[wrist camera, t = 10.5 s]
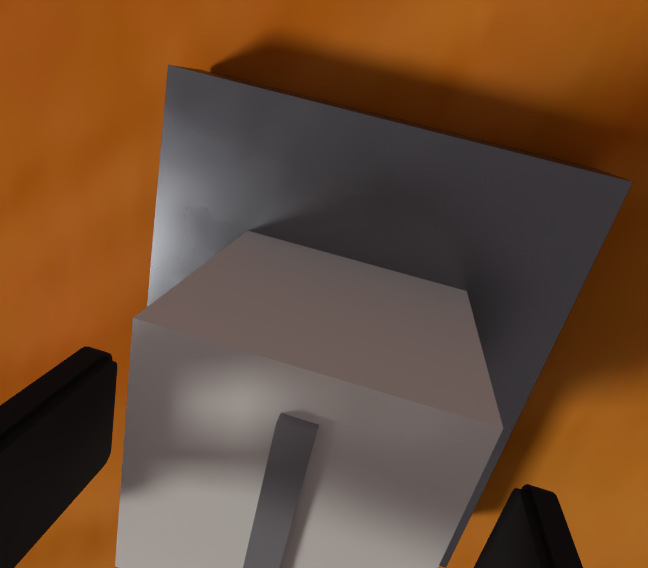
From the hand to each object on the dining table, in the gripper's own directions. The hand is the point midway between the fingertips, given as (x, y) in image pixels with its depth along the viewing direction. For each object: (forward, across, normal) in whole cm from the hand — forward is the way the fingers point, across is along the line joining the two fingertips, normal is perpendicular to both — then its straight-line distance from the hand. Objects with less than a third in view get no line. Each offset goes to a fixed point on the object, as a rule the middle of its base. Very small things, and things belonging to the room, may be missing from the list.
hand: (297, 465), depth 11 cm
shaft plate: (+6, 0, 0) cm, 6 cm away
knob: (+4, 0, 0) cm, 4 cm away
